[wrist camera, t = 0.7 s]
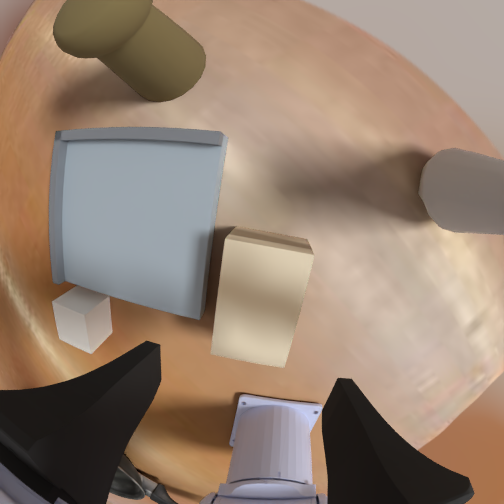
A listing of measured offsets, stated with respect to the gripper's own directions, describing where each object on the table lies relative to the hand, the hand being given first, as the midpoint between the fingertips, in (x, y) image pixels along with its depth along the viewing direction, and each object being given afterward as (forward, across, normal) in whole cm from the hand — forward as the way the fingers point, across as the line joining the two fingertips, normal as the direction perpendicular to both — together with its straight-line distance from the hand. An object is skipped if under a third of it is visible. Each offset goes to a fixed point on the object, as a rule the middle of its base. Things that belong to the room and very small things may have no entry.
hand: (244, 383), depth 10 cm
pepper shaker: (+11, +10, -15) cm, 21 cm away
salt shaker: (+11, -12, -10) cm, 19 cm away
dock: (+10, +11, -4) cm, 16 cm away
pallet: (+10, 0, 0) cm, 10 cm away
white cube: (+10, +15, +6) cm, 19 cm away
